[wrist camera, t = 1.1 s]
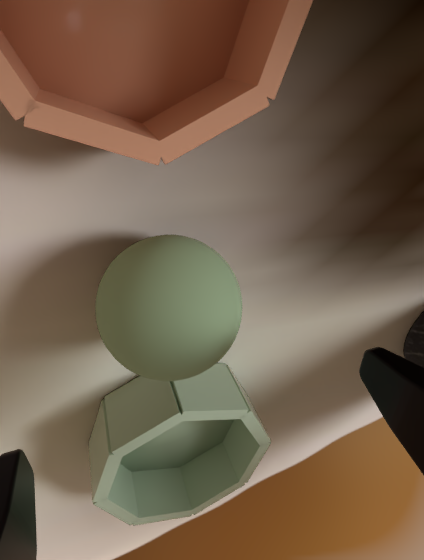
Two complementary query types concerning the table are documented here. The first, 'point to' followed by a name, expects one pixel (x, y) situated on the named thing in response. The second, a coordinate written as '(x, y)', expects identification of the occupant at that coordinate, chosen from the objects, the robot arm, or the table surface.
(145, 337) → the ball
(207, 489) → the green cup
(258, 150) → the table surface
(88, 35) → the terracotta cup
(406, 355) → the travel mug
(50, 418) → the table surface
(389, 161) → the table surface
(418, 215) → the table surface
